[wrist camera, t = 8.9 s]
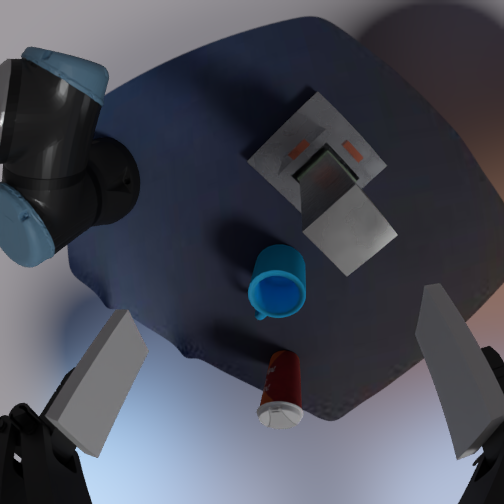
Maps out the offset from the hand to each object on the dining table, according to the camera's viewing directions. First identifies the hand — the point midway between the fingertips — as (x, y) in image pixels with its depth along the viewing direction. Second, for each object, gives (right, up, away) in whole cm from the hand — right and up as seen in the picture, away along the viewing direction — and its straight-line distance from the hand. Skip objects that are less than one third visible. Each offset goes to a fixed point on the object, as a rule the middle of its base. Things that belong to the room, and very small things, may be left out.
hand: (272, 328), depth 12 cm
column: (+7, +13, +21) cm, 25 cm away
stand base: (+8, +16, +28) cm, 33 cm away
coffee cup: (+6, -19, +46) cm, 50 cm away
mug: (+3, -1, +37) cm, 37 cm away
